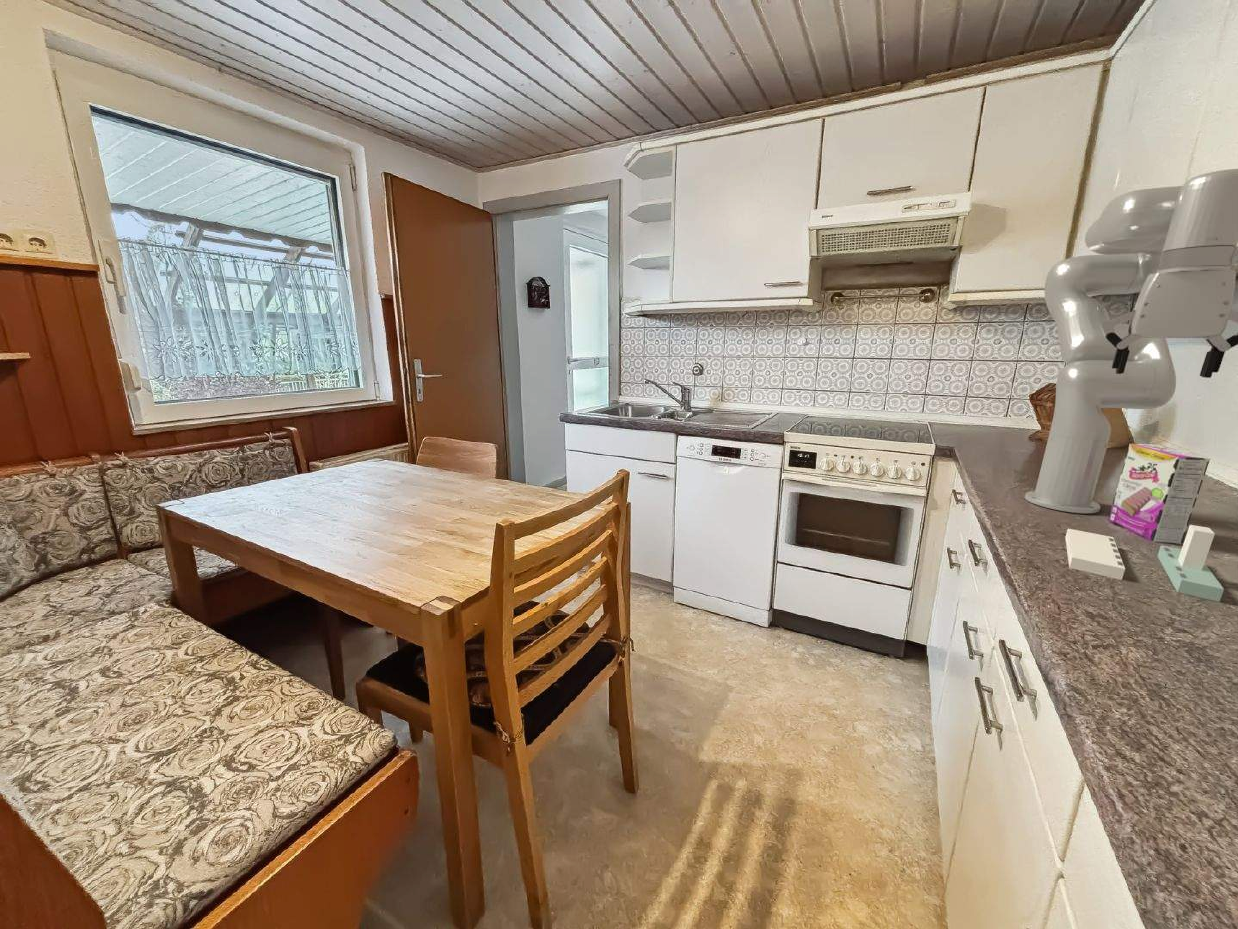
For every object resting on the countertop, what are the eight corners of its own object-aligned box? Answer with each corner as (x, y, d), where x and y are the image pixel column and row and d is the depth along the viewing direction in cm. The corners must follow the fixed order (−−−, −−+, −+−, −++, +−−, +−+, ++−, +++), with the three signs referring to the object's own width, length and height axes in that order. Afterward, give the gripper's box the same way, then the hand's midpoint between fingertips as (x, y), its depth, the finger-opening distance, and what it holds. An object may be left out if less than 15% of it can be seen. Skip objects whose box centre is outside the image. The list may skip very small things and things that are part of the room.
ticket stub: (1157, 556, 83) (1171, 512, 81) (1192, 563, 80) (1208, 517, 78) (1177, 592, 71) (1195, 541, 69) (1219, 602, 68) (1238, 550, 66)
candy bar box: (1104, 521, 99) (1127, 442, 95) (1133, 523, 98) (1157, 444, 94) (1150, 543, 89) (1178, 456, 84) (1183, 545, 88) (1213, 457, 83)
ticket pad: (1065, 538, 90) (1067, 528, 90) (1110, 547, 86) (1113, 536, 86) (1069, 568, 78) (1072, 556, 78) (1121, 580, 75) (1125, 568, 74)
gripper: (1275, 261, 72) (1235, 377, 77) (1113, 269, 83) (1086, 371, 87) (1294, 254, 67) (1251, 380, 71) (1118, 264, 77) (1090, 373, 82)
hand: (1160, 375), depth 79 cm, fingers open, 9 cm apart
